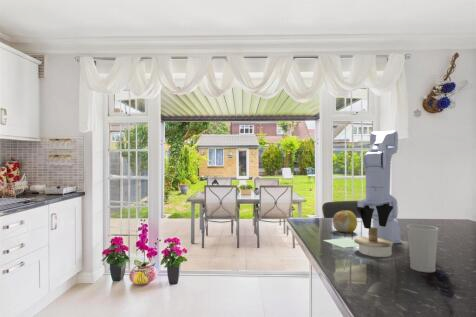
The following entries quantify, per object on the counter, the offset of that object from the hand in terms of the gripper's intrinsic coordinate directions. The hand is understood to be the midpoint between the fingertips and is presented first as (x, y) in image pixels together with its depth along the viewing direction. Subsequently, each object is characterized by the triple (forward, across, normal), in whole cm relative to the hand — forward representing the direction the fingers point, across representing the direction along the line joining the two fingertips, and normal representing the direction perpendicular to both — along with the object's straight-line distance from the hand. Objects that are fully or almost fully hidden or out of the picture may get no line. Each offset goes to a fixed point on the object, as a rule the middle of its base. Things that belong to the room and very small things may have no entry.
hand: (375, 227), depth 107 cm
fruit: (+9, -16, -29) cm, 35 cm away
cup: (+9, +1, +17) cm, 19 cm away
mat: (+9, -2, -15) cm, 17 cm away
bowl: (+9, 0, 0) cm, 9 cm away
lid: (+5, 0, -1) cm, 5 cm away
